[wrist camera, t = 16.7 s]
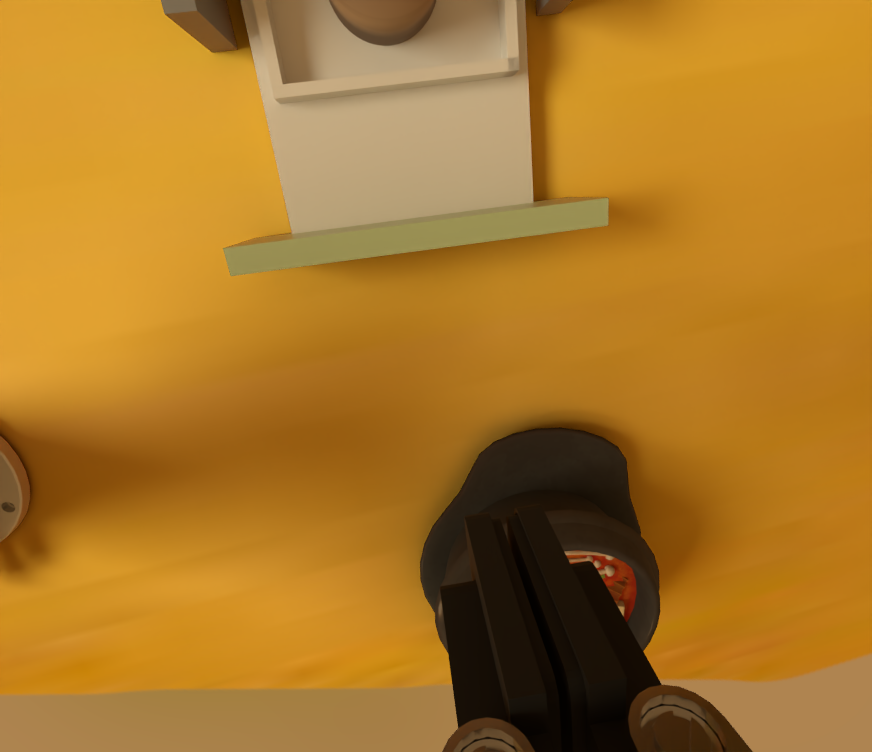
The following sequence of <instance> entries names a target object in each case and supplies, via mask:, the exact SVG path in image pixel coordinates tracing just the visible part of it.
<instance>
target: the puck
mask: <svg viewBox="0 0 872 752" xmlns="http://www.w3.org/2000/svg"><path fill="white" fill-rule="evenodd" d="M329 1H330V4H331V6H332V8H333V10H334V12H335V14H336V15H337V17H338V19H339V20H340V21H341V22H342V24H343V25H344V26H345V27H346V28H347V29H348V30H349V31H350V32H351V33H353V34H354V35H355V36H356V37H358V38H360V39H362V40H363V41H366V42H368V43H371V44H375V45H381V46H390V45H396V44H400V43H402V42H405V41H407V40H409V39H410V38H412V37H413V36H415V35H416V34H417V33H418V32H419V31H420V30H421V29H422V28H423V27H424V25H425V24H426V23H427V21H428V20H429V18H430V16H431V14H432V12H433V9H434V7H435V4H436V0H329Z"/></svg>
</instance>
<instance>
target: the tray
mask: <svg viewBox="0 0 872 752" xmlns="http://www.w3.org/2000/svg"><path fill="white" fill-rule="evenodd" d="M240 1H241V6H242V10H243V15H244V19H245V24H246V28H247V33H248V37H249V42H250V46H251V51H252V55H253V60H254V64H255V69H256V73H257V78H258V82H259V87H260V91H261V96H262V100H263V105H264V109H265V114H266V118H267V123H268V127H269V132H270V136H271V141H272V145H273V150H274V154H275V159H276V163H277V168H278V172H279V177H280V181H281V186H282V190H283V195H284V199H285V204H286V208H287V213H288V217H289V222H290V226H291V231H292V233H290V234H282V235H274V236H267V237H259V238H254V239H251V240H248V241H244V242H241V243H238V244H235V245H232V246H229V247H226V248H223V250H224V254H225V257H226V261H227V264H228V268H229V272H230V275H231V276H236V275H243V274H250V273H258V272H265V271H273V270H280V269H288V268H295V267H303V266H310V265H318V264H325V263H333V262H340V261H347V260H355V259H362V258H370V257H377V256H385V255H392V254H400V253H407V252H415V251H422V250H429V249H437V248H444V247H452V246H459V245H467V244H474V243H482V242H489V241H497V240H504V239H511V238H519V237H526V236H534V235H541V234H549V233H556V232H564V231H571V230H579V229H586V228H593V227H601V226H608V207H609V198H592V197H565V198H557V199H550V200H542V201H534V202H533V178H532V154H531V130H530V106H529V82H528V57H527V33H526V9H525V0H436V4H435V7H434V9H433V12H432V14H431V16H430V18H429V20H428V21H427V23H426V24H425V25H424V27H423V28H422V29H421V30H420V31H419V32H418V33H417V34H416V35H415V36H413V37H412V38H410V39H409V40H407V41H405V42H402V43H400V44H396V45H390V46H381V45H375V44H371V43H368V42H366V41H363V40H362V39H360V38H358V37H356V36H355V35H354V34H353V33H351V32H350V31H349V30H348V29H347V28H346V27H345V26H344V25H343V24H342V22H341V21H340V20H339V19H338V17H337V15H336V14H335V12H334V10H333V8H332V6H331V4H330V1H329V0H240Z"/></svg>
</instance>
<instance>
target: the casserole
mask: <svg viewBox="0 0 872 752" xmlns="http://www.w3.org/2000/svg"><path fill="white" fill-rule="evenodd" d="M534 504H540V505H541V506H542V508H543V510H544V512H545V514H546V516H547V518H548V520H549V522H550V524H551V526H552V528H553V530H554V532H555V534H556V536H557V538H558V540H559V542H560V544H561V546H562V548H563V550H564V552H565V554H566V556H567V558H568V560H569V562H570V564H573V563H578V562H584V561H591V562H592V563H593V564H594V566H595V567H596V568H597V570H598V572H599V574H600V575H601V577H602V579H603V581H604V583H605V584H606V586H607V588H608V590H609V592H610V593H611V595H612V597H613V599H614V601H615V602H616V604H617V606H618V608H619V609H620V611H621V613H622V615H623V617H624V618H625V620H626V622H627V624H628V626H629V627H630V629H631V631H632V633H633V634H634V636H635V638H636V640H637V642H638V643H639V645H640V647H641V649H642V651H644V649H645V648H646V647H647V645H648V644H649V642H650V641H651V638H652V636H653V634H654V632H655V630H656V628H657V624H658V619H659V615H660V596H659V570H658V567H657V563H656V560H655V557H654V554H653V553H652V551H651V549H650V548H649V546H648V545H647V543H646V542H645V540H644V539H643V538H642V537H641V532H640V527H639V524H638V520H637V517H636V514H635V511H634V508H633V505H632V502H631V499H630V495H629V484H628V473H627V462H626V458H625V457H624V456H623V454H622V453H621V451H620V450H619V448H618V447H617V446H616V445H614V444H612V443H611V442H609V441H608V440H606V439H604V438H603V437H600V436H597V435H594V434H591V433H588V432H585V431H580V430H573V429H566V428H543V429H533V430H529V431H524V432H519V433H515V434H512V435H509V436H507V437H505V438H502V439H500V440H497V441H495V442H493V443H492V444H491V445H490V446H489V447H487V448H486V449H485V450H484V451H483V452H481V453H480V454H479V456H478V458H477V460H476V462H475V463H474V465H473V467H472V469H471V471H470V473H469V475H468V477H467V479H466V481H465V483H464V484H463V486H462V488H461V490H460V492H459V493H458V495H457V496H456V497H455V498H454V500H453V501H452V502H451V503H450V505H449V506H448V507H447V509H446V510H445V511H444V512H443V514H442V515H441V516H440V518H439V519H438V520H437V521H436V523H435V524H434V525H433V527H432V529H431V531H430V533H429V535H428V538H427V540H426V542H425V544H424V548H423V553H422V557H421V561H420V572H421V583H422V587H423V590H424V594H425V597H426V599H427V600H428V602H429V604H430V605H431V607H432V609H433V610H434V612H435V623H436V627H437V631H438V634H439V638H440V640H441V642H442V644H443V645H444V647H445V649H446V650H447V652H448V646H447V639H446V631H445V624H444V616H443V608H442V601H441V593H440V586H445V585H451V584H457V583H462V582H468V581H472V578H471V570H470V562H469V554H468V547H467V539H466V531H465V523H464V516H468V515H474V514H480V513H486V512H489V514H490V517H491V519H492V518H498V517H499V518H500V520H501V522H502V525H503V528H504V531H505V534H506V537H507V540H508V534H507V522H506V517H507V516H510V515H514V508H516V507H522V506H528V505H534Z"/></svg>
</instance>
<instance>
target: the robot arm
mask: <svg viewBox="0 0 872 752" xmlns="http://www.w3.org/2000/svg"><path fill="white" fill-rule="evenodd" d="M29 502H30V485H29V481H28V477H27V473H26V470H25V468H24V467H23V465H22V463H21V461H20V459H19V457H18V455H17V454H16V453H15V452H14V450H13V449H12V448H11V446H10V445H9V444H8V443H7V442H6V441H5V440H4V439H3V438H2V437H1V436H0V542H1V541H2V540H4V539H5V538H6V537H7V536H9V535H10V534H11V533H12V532H13V531H14V530H15V529H16V528H17V527H18V526H19V525H20V524H21V522H22V520H23V518H24V517H25V515H26V513H27V510H28V506H29ZM506 522H507V534H508V540H507V537H506V534H505V531H504V528H503V525H502V522H501V520H500V518H499V517H498V518H492V519H491V517H490V514H489V512H486V513H480V514H474V515H468V516H464V523H465V531H466V539H467V547H468V554H469V562H470V570H471V578H472V581H468V582H462V583H457V584H451V585H445V586H440V593H441V601H442V608H443V616H444V624H445V631H446V639H447V646H448V654H449V661H450V669H451V676H452V684H453V691H454V699H455V707H456V714H457V721H458V729H457V730H456V731H455V732H454V734H453V735H452V736H451V737H450V738H449V739H448V741H447V743H446V745H445V747H444V749H443V751H442V752H752V750H751V749H750V748H749V747H748V745H747V744H746V743H745V742H744V740H743V739H742V738H741V737H740V735H739V734H738V733H737V732H736V730H735V729H734V728H733V727H732V725H731V724H730V723H729V722H728V721H727V719H726V718H725V717H724V716H723V715H722V714H721V713H720V712H719V711H718V710H717V709H716V708H715V707H714V706H713V705H712V704H711V703H710V702H708V701H707V700H705V699H704V698H702V697H701V696H699V695H698V694H696V693H694V692H692V691H689V690H686V689H684V688H681V687H677V686H670V685H661V683H660V681H659V679H658V677H657V676H656V674H655V672H654V670H653V668H652V667H651V665H650V663H649V661H648V660H647V658H646V656H645V654H644V652H643V651H642V649H641V647H640V645H639V643H638V642H637V640H636V638H635V636H634V634H633V633H632V631H631V629H630V627H629V626H628V624H627V622H626V620H625V618H624V617H623V615H622V613H621V611H620V609H619V608H618V606H617V604H616V602H615V601H614V599H613V597H612V595H611V593H610V592H609V590H608V588H607V586H606V584H605V583H604V581H603V579H602V577H601V575H600V574H599V572H598V570H597V568H596V567H595V566H594V564H593V563H592V562H591V561H584V562H578V563H573V564H570V562H569V560H568V558H567V556H566V554H565V552H564V550H563V548H562V546H561V544H560V542H559V540H558V538H557V536H556V534H555V532H554V530H553V528H552V526H551V524H550V522H549V520H548V518H547V516H546V514H545V512H544V510H543V508H542V506H541V505H540V504H534V505H528V506H522V507H516V508H514V515H510V516H507V517H506Z"/></svg>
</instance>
